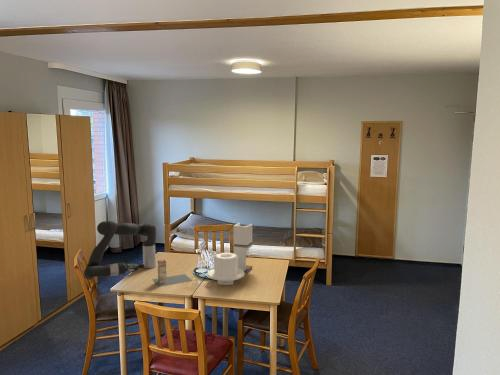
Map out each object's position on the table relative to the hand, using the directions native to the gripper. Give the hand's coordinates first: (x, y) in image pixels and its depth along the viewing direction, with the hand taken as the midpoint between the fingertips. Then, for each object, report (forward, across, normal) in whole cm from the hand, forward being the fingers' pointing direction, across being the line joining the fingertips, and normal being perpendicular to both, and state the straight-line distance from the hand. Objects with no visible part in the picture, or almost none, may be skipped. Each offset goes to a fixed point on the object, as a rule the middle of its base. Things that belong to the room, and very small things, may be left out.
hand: (143, 265), depth 265 cm
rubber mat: (+19, 0, +14) cm, 24 cm away
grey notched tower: (+73, -3, +13) cm, 75 cm away
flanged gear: (+51, -20, +14) cm, 57 cm away
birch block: (+12, 0, +13) cm, 18 cm away
